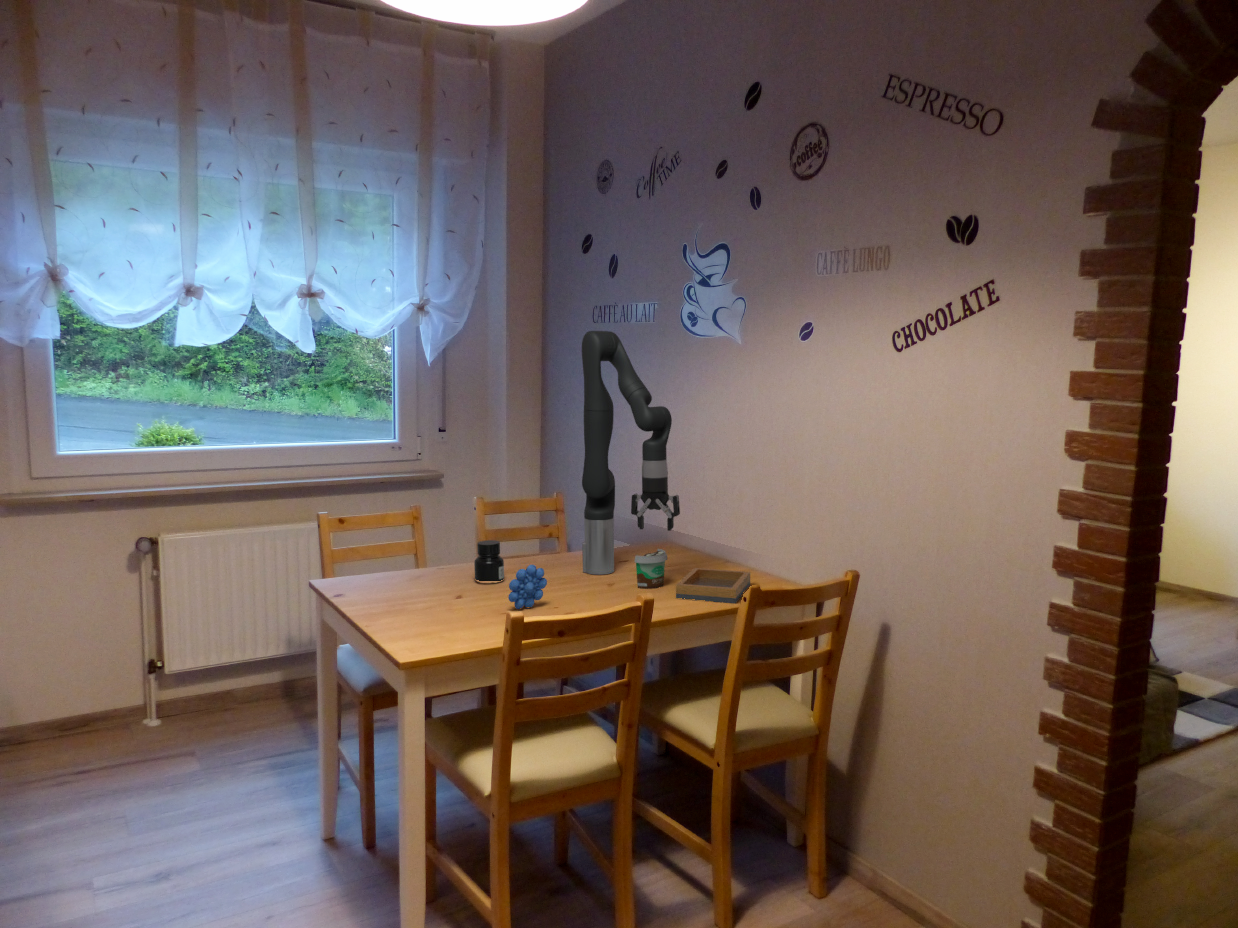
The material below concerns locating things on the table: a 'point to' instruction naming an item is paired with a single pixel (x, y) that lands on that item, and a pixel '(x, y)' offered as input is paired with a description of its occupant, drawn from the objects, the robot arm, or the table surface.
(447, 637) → the table surface
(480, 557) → the ink bottle
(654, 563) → the food container
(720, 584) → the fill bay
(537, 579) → the grapes
